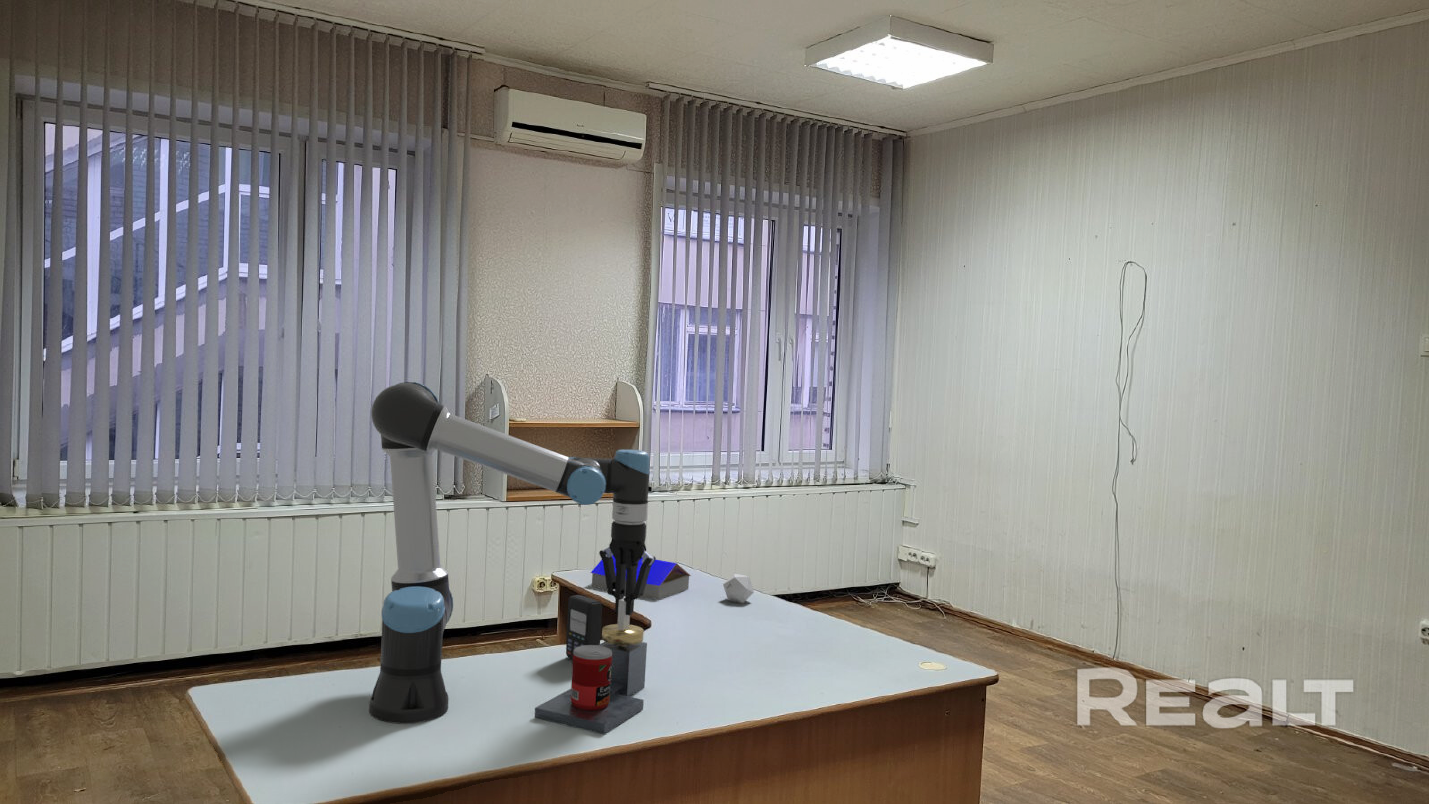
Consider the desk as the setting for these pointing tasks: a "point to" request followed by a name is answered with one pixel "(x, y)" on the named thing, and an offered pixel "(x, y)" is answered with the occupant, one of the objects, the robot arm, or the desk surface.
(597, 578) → the house
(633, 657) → the grey stepped stand
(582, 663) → the canned food
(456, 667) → the desk surface
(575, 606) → the card reader
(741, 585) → the die
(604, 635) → the door knob
